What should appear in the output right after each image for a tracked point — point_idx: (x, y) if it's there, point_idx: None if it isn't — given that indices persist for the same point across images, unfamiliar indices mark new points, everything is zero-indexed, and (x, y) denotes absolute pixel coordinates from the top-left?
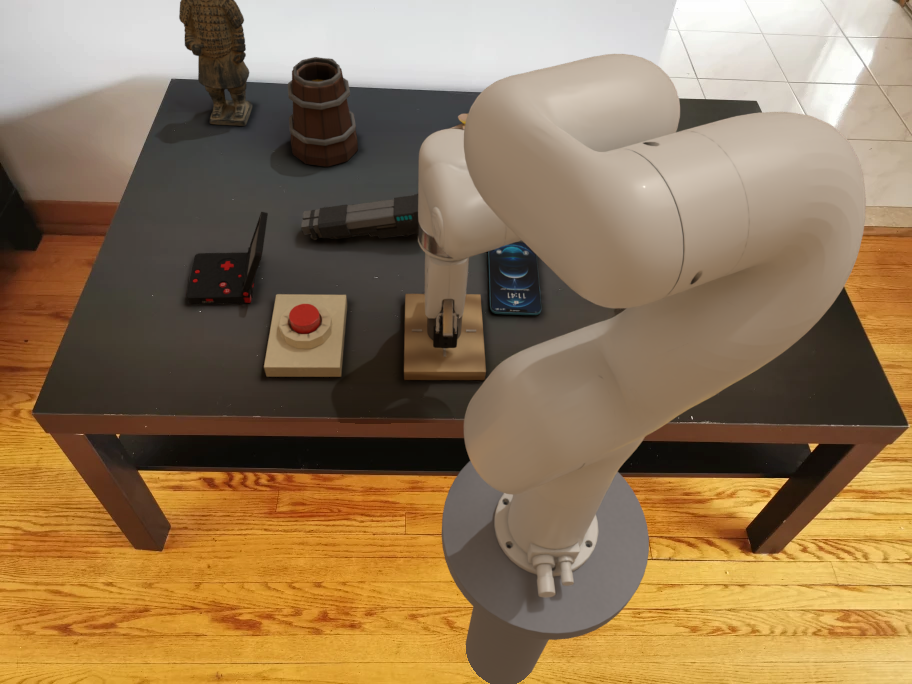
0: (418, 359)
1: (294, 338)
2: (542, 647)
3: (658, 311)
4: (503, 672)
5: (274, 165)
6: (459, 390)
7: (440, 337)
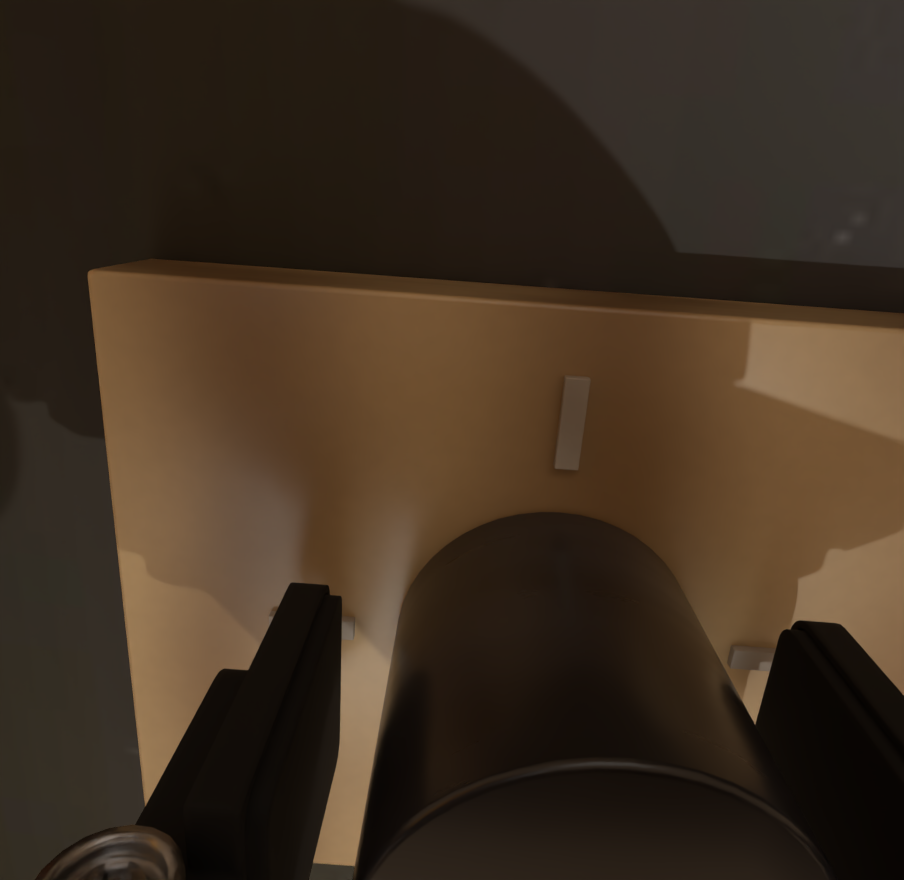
0: (234, 412)
1: None
2: None
3: None
4: None
5: None
6: (99, 628)
7: (153, 799)
